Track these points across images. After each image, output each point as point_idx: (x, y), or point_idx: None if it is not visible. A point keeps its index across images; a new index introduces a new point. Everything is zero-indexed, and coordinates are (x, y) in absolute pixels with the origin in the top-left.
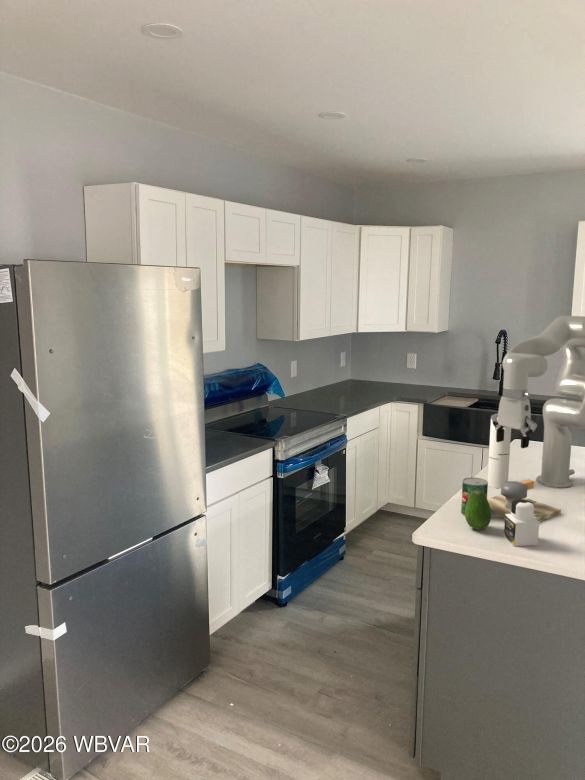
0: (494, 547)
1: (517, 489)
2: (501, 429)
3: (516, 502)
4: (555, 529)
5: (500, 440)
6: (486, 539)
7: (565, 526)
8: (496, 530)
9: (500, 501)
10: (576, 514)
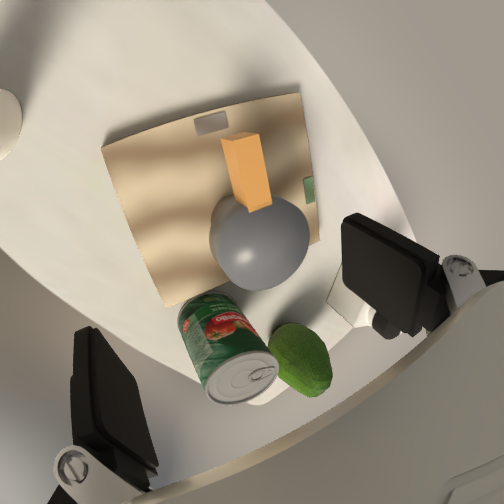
0: (341, 327)
1: (302, 258)
2: (126, 461)
3: (396, 336)
4: (348, 184)
5: (121, 366)
6: (318, 331)
7: (347, 150)
8: (301, 304)
9: (177, 228)
10: (308, 58)
